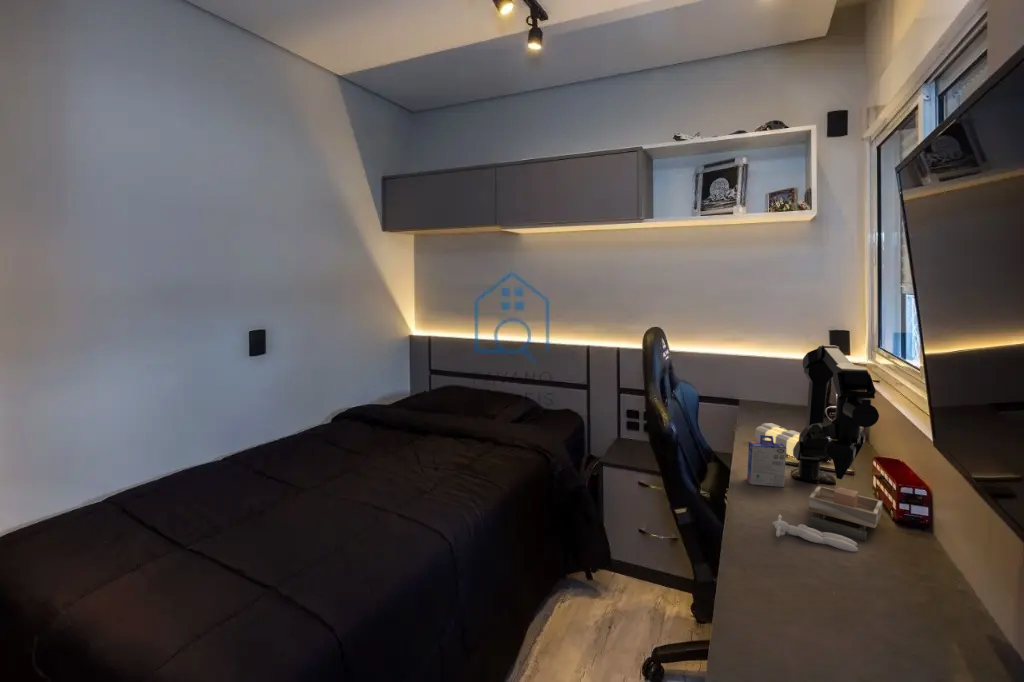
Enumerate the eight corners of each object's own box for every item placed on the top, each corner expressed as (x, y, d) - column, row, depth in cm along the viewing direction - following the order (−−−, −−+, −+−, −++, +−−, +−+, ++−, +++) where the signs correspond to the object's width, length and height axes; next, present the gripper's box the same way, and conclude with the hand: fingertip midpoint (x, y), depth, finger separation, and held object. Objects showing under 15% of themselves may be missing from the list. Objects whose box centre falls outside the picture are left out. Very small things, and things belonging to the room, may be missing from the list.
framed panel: (832, 493, 154) (832, 486, 154) (881, 505, 146) (882, 498, 146) (808, 525, 134) (809, 518, 133) (865, 541, 126) (865, 533, 126)
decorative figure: (856, 532, 127) (774, 508, 136) (861, 555, 117) (772, 527, 125) (853, 545, 128) (772, 520, 136) (857, 569, 117) (769, 541, 126)
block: (836, 503, 140) (838, 486, 139) (856, 508, 137) (858, 491, 136) (832, 508, 136) (834, 491, 136) (853, 513, 133) (854, 496, 133)
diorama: (833, 464, 180) (836, 426, 178) (809, 467, 177) (812, 429, 175) (776, 442, 203) (778, 409, 202) (754, 444, 200) (756, 410, 199)
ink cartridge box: (779, 480, 163) (783, 435, 162) (785, 487, 158) (788, 440, 156) (745, 478, 165) (748, 433, 164) (749, 484, 160) (752, 438, 158)
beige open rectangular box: (817, 503, 146) (818, 485, 145) (880, 519, 136) (882, 500, 135) (807, 515, 138) (809, 497, 137) (874, 534, 128) (876, 514, 128)
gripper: (821, 403, 148) (816, 457, 151) (804, 417, 135) (799, 476, 137) (868, 410, 141) (862, 466, 143) (855, 426, 127) (849, 487, 129)
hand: (842, 473), depth 138 cm, fingers open, 9 cm apart
